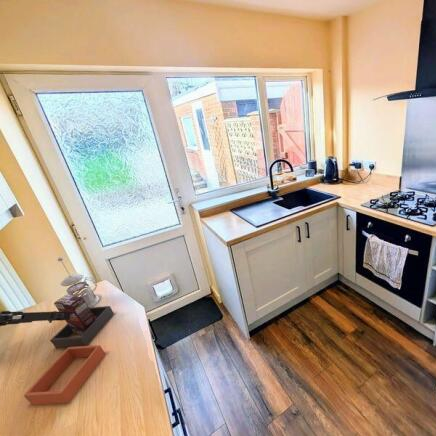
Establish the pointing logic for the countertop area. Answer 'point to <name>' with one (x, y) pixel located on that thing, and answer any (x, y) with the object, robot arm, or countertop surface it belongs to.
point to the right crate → (65, 340)
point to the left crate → (43, 383)
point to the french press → (80, 287)
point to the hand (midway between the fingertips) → (50, 316)
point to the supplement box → (76, 313)
